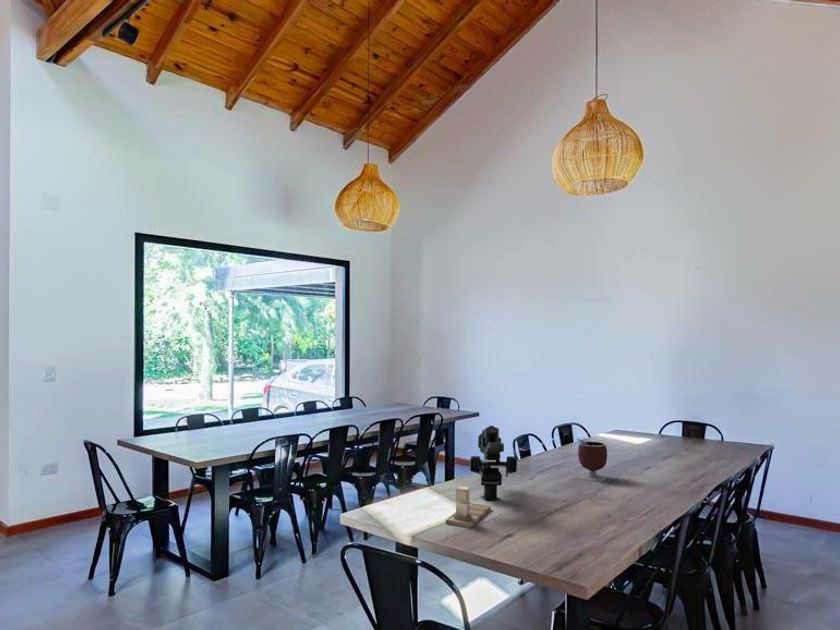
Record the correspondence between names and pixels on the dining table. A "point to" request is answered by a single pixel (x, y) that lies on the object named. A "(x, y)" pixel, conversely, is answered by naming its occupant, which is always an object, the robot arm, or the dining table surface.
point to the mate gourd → (592, 458)
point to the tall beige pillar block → (462, 503)
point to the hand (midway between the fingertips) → (495, 475)
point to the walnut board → (476, 515)
